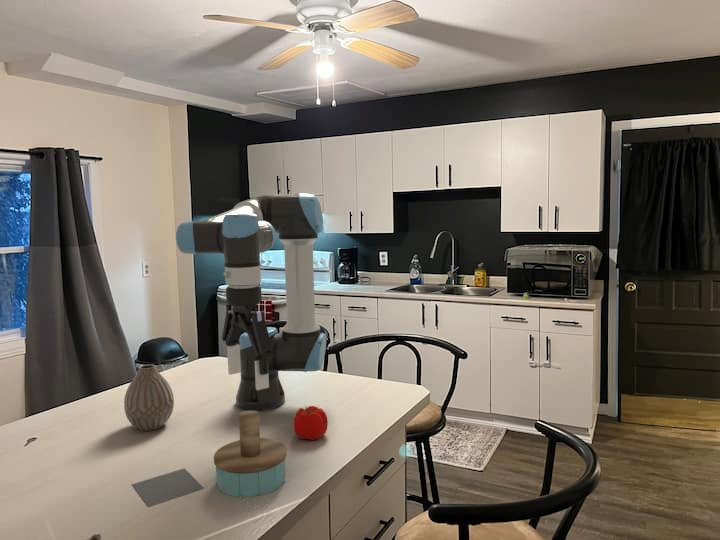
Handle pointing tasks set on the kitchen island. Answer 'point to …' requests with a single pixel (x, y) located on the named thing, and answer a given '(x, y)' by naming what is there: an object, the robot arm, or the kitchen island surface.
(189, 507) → the kitchen island surface
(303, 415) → the tomato
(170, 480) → the mat
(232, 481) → the bowl
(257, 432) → the lid
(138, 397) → the vase
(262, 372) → the robot arm
